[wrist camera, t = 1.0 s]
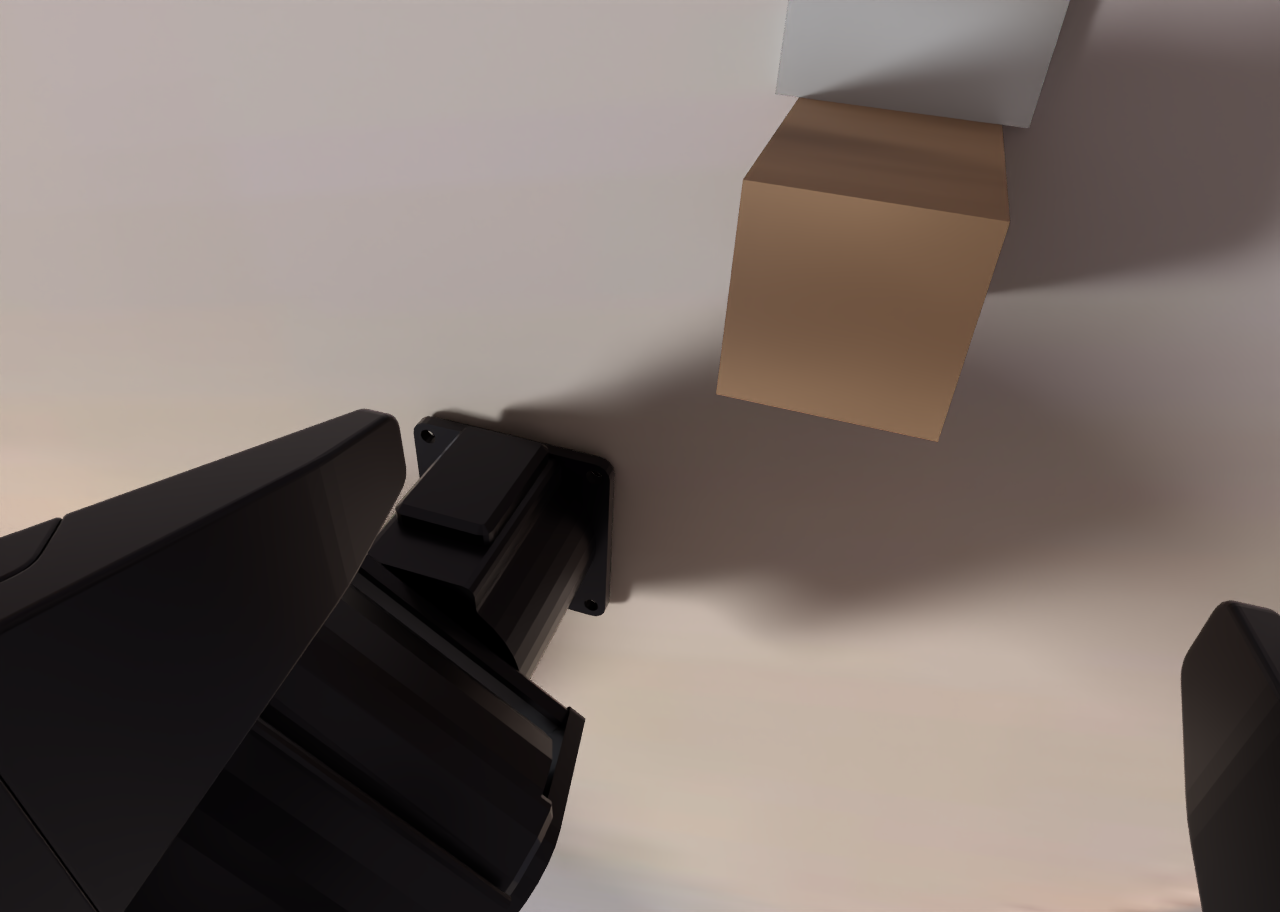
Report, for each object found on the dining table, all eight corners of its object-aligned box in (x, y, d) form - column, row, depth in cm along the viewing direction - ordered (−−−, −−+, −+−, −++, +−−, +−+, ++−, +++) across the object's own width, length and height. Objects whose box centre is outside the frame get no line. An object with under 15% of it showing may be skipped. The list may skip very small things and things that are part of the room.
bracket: (970, 302, 19) (967, 448, 15) (755, 263, 20) (689, 388, 16) (1212, -462, 12) (1358, -648, 7) (858, -460, 13) (793, -621, 8)
